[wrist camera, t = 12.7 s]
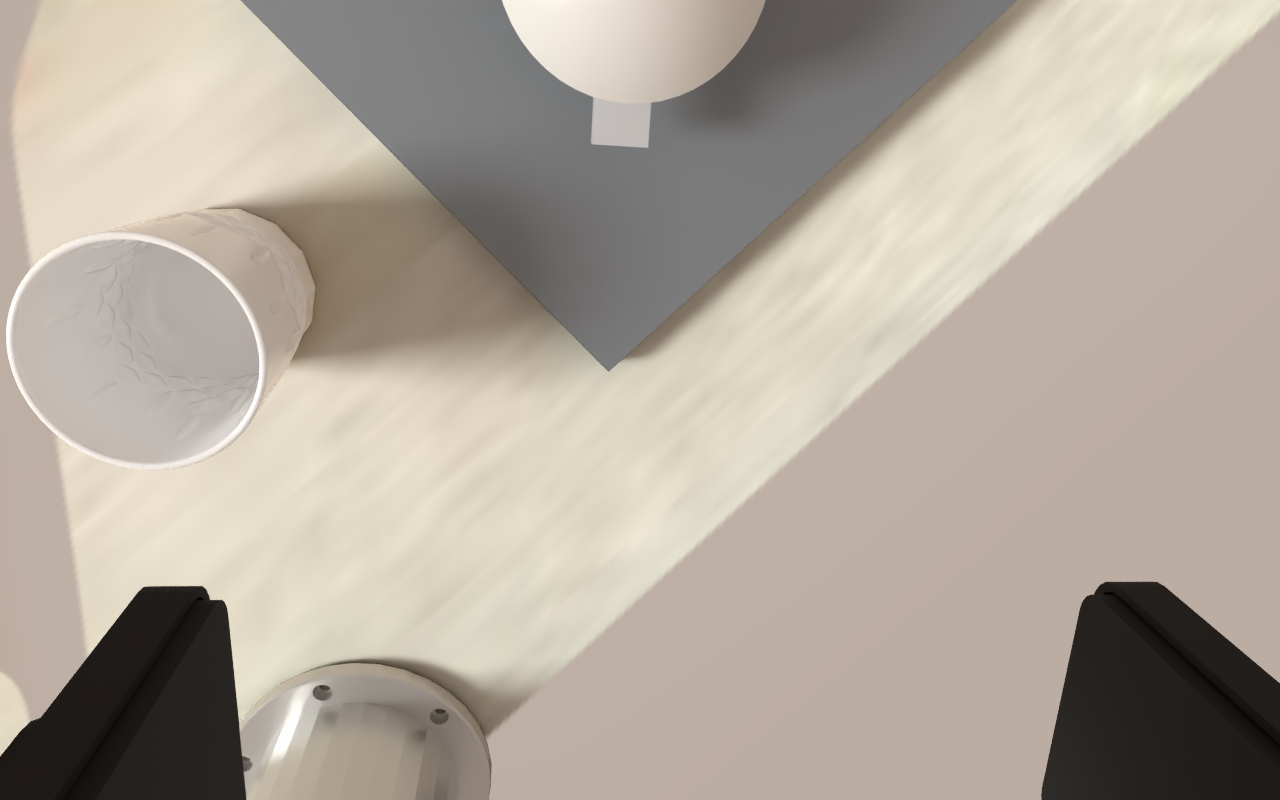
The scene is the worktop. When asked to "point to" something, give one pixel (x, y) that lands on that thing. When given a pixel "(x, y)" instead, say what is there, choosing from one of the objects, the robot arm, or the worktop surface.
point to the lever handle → (632, 52)
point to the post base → (619, 175)
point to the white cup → (160, 334)
